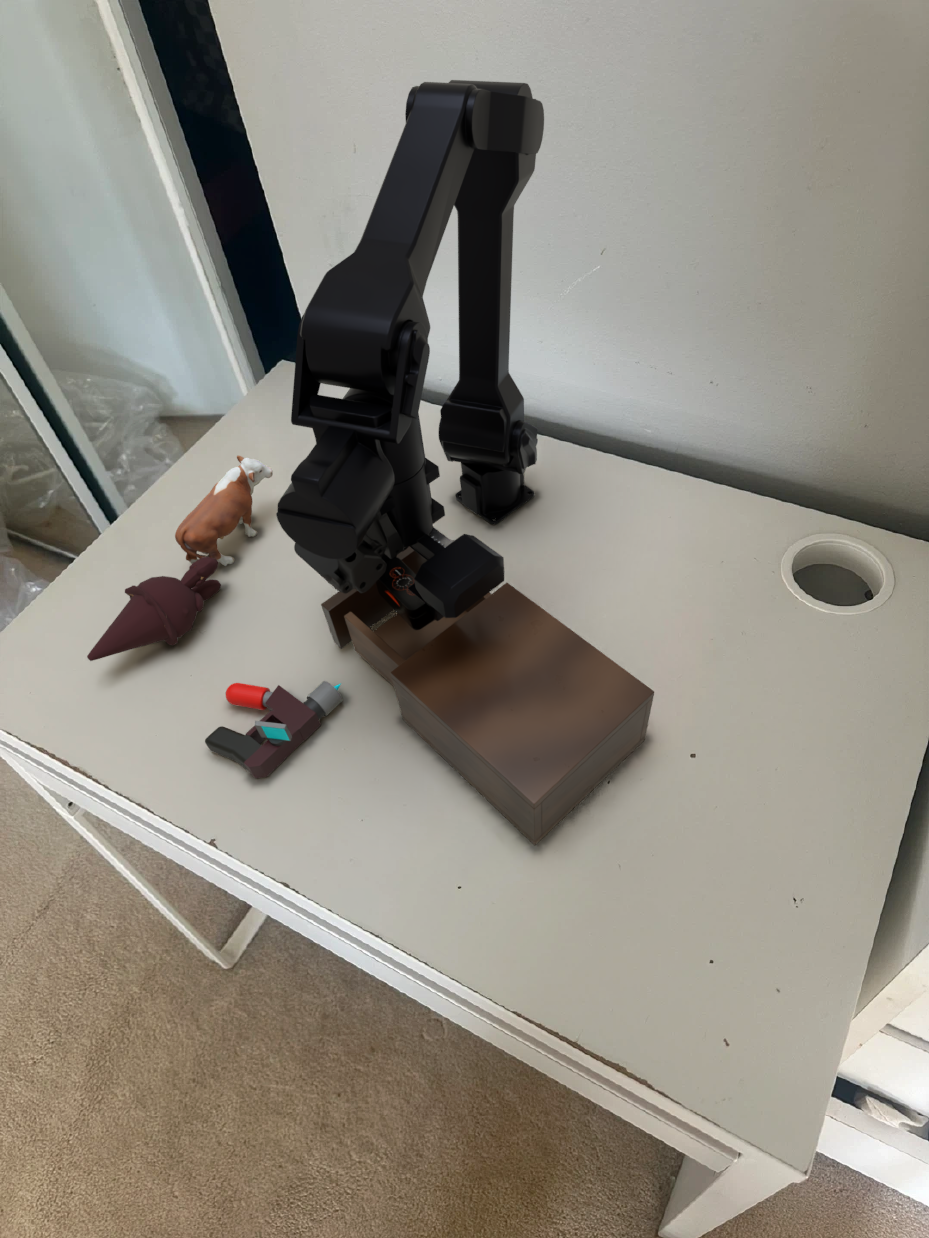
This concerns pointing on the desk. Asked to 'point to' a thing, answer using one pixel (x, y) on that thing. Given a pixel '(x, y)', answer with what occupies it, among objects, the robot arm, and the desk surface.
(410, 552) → the drawer
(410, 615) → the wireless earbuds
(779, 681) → the desk surface
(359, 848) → the desk surface
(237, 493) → the bull figurine
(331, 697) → the toy gun
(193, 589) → the icecream
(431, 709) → the cabinet
